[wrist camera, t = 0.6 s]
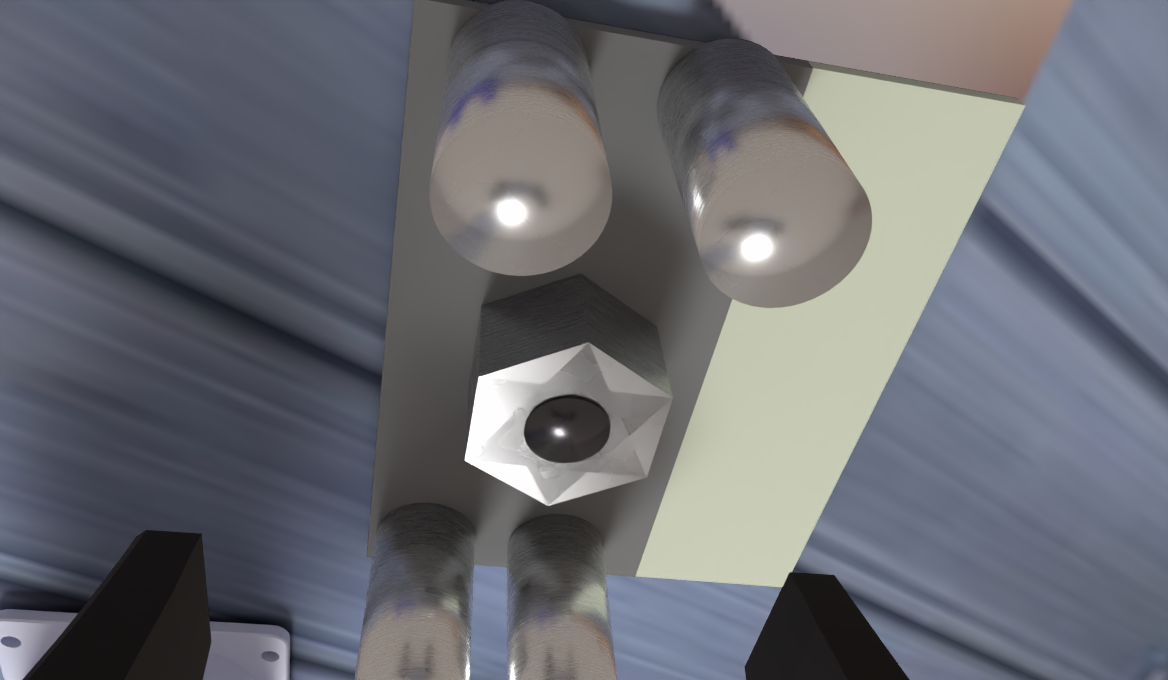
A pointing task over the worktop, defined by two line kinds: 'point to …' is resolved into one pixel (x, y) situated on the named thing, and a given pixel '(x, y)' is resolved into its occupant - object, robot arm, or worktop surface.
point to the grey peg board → (558, 237)
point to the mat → (684, 315)
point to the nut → (565, 391)
